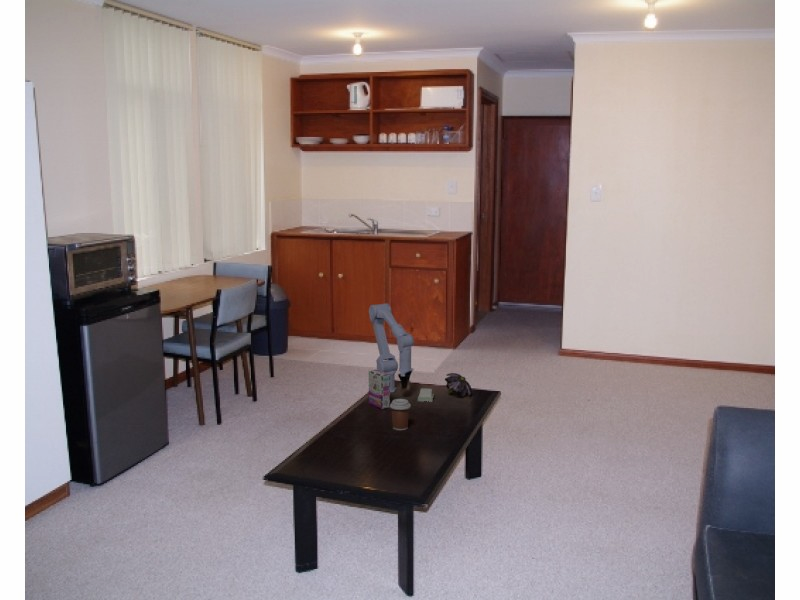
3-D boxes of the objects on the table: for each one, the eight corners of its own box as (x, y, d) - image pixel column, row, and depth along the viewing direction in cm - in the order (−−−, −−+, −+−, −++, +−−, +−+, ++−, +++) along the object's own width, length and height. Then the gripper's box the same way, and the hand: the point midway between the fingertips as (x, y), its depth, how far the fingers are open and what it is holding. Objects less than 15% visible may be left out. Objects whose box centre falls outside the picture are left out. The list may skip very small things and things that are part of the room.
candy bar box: (390, 407, 338) (390, 373, 335) (382, 409, 335) (381, 375, 332) (376, 401, 346) (376, 368, 344) (368, 403, 344) (368, 370, 341)
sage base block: (417, 402, 348) (417, 397, 347) (419, 397, 354) (419, 392, 354) (432, 402, 347) (432, 397, 346) (433, 398, 353) (434, 393, 353)
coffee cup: (399, 422, 317) (399, 396, 315) (415, 427, 311) (415, 400, 309) (385, 428, 310) (385, 401, 308) (401, 433, 305) (401, 405, 302)
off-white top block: (419, 396, 348) (419, 391, 347) (420, 393, 353) (420, 388, 353) (431, 397, 347) (431, 392, 347) (432, 393, 353) (432, 388, 352)
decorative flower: (463, 382, 345) (443, 367, 355) (453, 403, 347) (433, 388, 357) (481, 384, 355) (461, 370, 365) (472, 405, 357) (452, 390, 367)
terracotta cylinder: (399, 390, 350) (399, 381, 349) (401, 388, 354) (401, 379, 354) (408, 391, 349) (408, 382, 349) (410, 388, 354) (410, 379, 353)
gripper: (411, 363, 341) (410, 391, 344) (415, 356, 356) (415, 382, 358) (396, 363, 343) (396, 390, 345) (401, 355, 357) (401, 382, 359)
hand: (405, 386), depth 352 cm, fingers closed on terracotta cylinder, 4 cm apart
